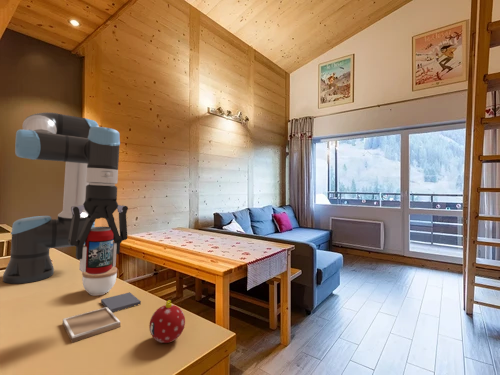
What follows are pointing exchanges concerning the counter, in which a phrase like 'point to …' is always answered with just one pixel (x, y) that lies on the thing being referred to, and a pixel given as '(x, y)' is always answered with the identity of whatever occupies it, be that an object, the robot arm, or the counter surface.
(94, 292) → the lidded jar
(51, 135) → the robot arm
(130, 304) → the pad
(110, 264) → the beverage can
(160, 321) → the christmas ornament
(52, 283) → the counter surface
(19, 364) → the counter surface
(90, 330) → the board
